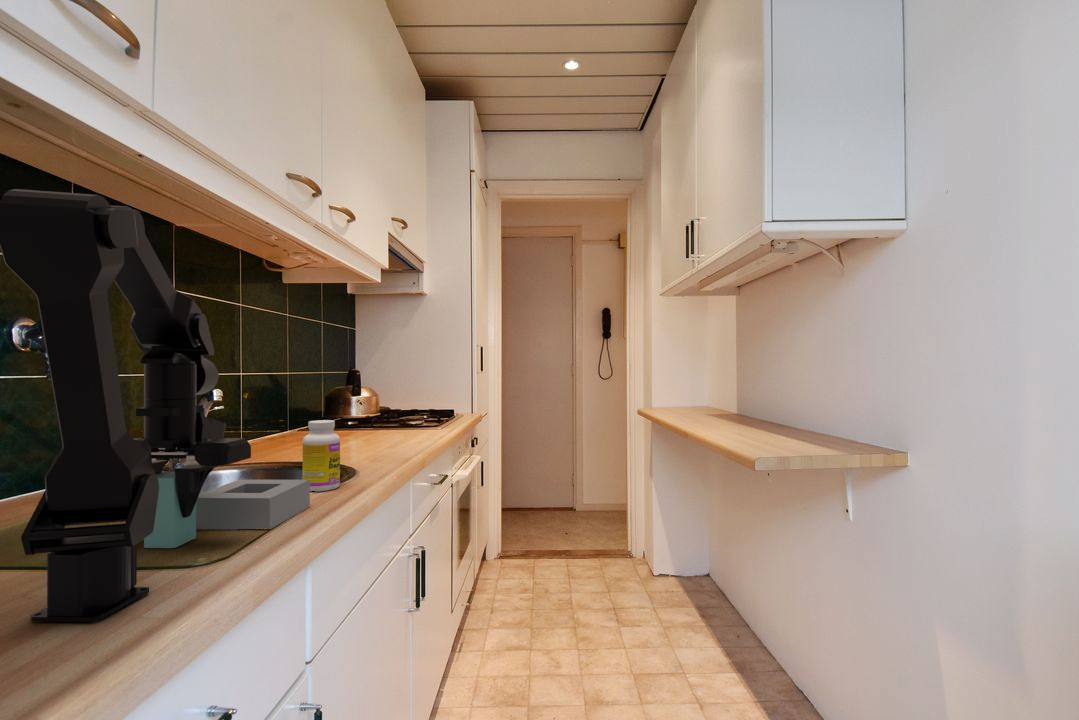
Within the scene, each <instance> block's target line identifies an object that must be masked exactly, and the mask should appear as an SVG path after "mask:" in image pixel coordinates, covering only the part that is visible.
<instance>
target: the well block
mask: <svg viewBox="0 0 1079 720" xmlns="http://www.w3.org/2000/svg"><path fill="white" fill-rule="evenodd" d="M310 493H311V491H310V480H302V479H237V480H234V481H231V482H229V483H225V484H223V485H221V486H218V487H213V488H212V489H209V490H206V491H204V492H200V494H199V496H198V499H197V501H196V530H232V531H233V530H237V529H257V528H258V529H261V528H262V529H264V528H266V529H270V530H272V529H273V528H275V527H277V526H279V525H281V524H282V523H284V522H287V521H289V519H291V518H293V517H295V516H297V515H299V514H300V513H302V512H304V511H305V510H307V509H309V508H310V507H311V503H310V502H311V494H310Z"/></svg>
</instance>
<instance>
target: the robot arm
mask: <svg viewBox="0 0 1079 720" xmlns="http://www.w3.org/2000/svg"><path fill="white" fill-rule="evenodd" d="M145 229H146V228H145V221H144V218H143V216H142V214H141V212H140V211H139V210H138V209H133V208H132V207H129V206H126V205H125V206H123V205H122V206H121V205H110V203H109V202H108V200H107V199H106V198H105V197H104V196H102V195H99V194H90V193H75V192H74V193H73V192H65V191H63V192H61V191H49V190H48V191H46V190H34V189H33V190H32V189H21V188H14V189H9V190H7V191H6V192H5V193H4V194H3V195H2V197H1V199H0V251H1V254H2V258H3V261H4V264H5V265H6V266H7V268H8V269H9V270H11V271H12V273H13V274H14V275H15V276H16V277H17V278H19V280H21V282H22V283H23V284H25V285H26V286H27V288H29V289H30V290H31V291H32V293H34V295H35V297H36V300H37V304H38V305H37V306H38V312H39V317H40V322H41V329H42V334H43V340H44V346H45V353H46V358H47V363H48V368H49V369H48V370H49V374H50V382H51V387H52V393H53V398H54V405H55V408H56V415H57V421H58V428H59V432H60V437H61V438H60V439H61V445H62V446H61V449H60V451H59V453H58V455H57V456H56V458H55V459H54V460H53V462H52V464H51V465H50V467H49V468H48V470H47V472H46V474H45V475H44V486H45V487H44V488H45V490H44V492H43V494H42V496H41V498H40V499H39V502H38V503H37V505H36V507H35V509H34V511H33V513H32V514H31V516H30V519H29V520H28V522H27V525H26V526H25V528H24V530H23V532H22V534H21V537H20V538H21V539H20V540H21V542H22V543H21V544H22V547H23V551H24V554H25V556H34V555H36V554H37V555H38V554H47V556H46V560H47V561H46V563H47V564H46V567H47V568H46V572H47V573H46V578H47V579H46V608H43V609H42V610H39V611H37V612H35V613H33V614H31V615H30V622H42V623H43V622H51V623H53V622H54V623H55V622H56V623H57V622H58V623H62V622H63V623H71V622H72V623H96V622H99V621H101V620H103V619H104V618H107V617H108V616H110V615H112V614H114V613H115V612H117V611H119V610H121V609H123V608H124V607H126V606H128V605H130V604H131V603H134V602H135V601H137V600H139V599H140V598H142V597H145V595H147V594H150V587H146V586H145V587H144V586H143V587H142V586H137V582H138V580H137V579H138V577H137V575H138V573H137V569H138V568H137V564H138V563H137V560H138V559H137V558H138V555H137V553H138V552H137V551H138V550H137V546H136V545H137V544H138V543H140V542H141V541H144V538H146V537H147V536H148V535H150V534H151V533H152V532H153V529H154V522H155V515H156V508H157V501H158V494H159V481H158V478H157V476H156V475H157V474H161V473H163V470H164V468H166V465H167V463H168V459H186V461H185V465H183V466H179V467H175V468H174V471H173V472H175V478H176V485H177V492H178V499H179V506H180V510H181V514H182V517H183V518H186V517H189V516H190V515H191V514H192V511H193V509H194V506H195V504H196V501H197V499H198V496H199V494H200V493H201V490H202V488H203V486H204V484H205V482H206V480H207V478H208V476H209V475H210V474H211V472H213V470H214V469H215V468H216V467H221V466H228V465H232V464H235V463H240V462H243V461H245V460H249V459H251V458H252V446H251V444H250V443H249V441H248V440H247V438H245V437H244V438H243V437H240V438H238V437H235V438H234V437H233V438H231V437H230V438H229V437H225V438H224V435H225V431H226V426H227V423H225V422H222V421H220V420H217V419H215V418H212V417H208V416H206V414H205V413H206V412H205V408H204V404H197V401H198V400H197V396H199V395H203V394H207V393H208V392H210V391H211V390H213V389H214V388H215V387H216V385H217V384H218V382H219V377H220V375H219V371H218V369H217V368H218V367H217V366H216V365H215V364H214V362H212V361H211V360H210V359H207V358H205V356H214V355H215V349H214V345H213V340H212V336H211V332H210V327H209V324H208V320H207V316H206V314H205V313H202V310H201V309H200V307H199V305H198V304H197V303H196V301H195V300H194V299H193V298H192V297H191V296H188V295H186V294H184V293H182V292H180V291H178V290H177V289H176V288H175V286H174V285H173V283H172V281H171V279H170V278H169V276H168V274H167V271H166V270H165V269H164V266H163V264H162V263H161V261H160V259H159V258H158V255H157V253H156V251H155V249H154V248H153V246H152V244H151V242H150V240H149V239H148V237H147V235H146V231H145ZM113 282H114V283H115V285H116V286H117V287H118V289H119V290H120V292H121V293H122V295H123V296H124V297H125V299H126V300H127V302H128V303H129V306H131V309H132V311H133V313H132V316H131V321H130V323H129V327H130V328H129V329H130V331H131V333H132V335H133V337H134V339H135V341H136V343H137V345H138V347H139V349H140V350H141V351H143V353H144V354H143V355H141V358H140V359H139V362H140V364H141V365H143V407H137V408H135V417H143V438H141V437H138V438H135V437H134V438H133V437H132V436H131V435H130V434H129V433H128V432H127V427H126V421H125V420H126V419H125V413H124V412H125V411H124V406H123V399H122V392H121V383H120V378H119V370H118V364H117V362H118V361H117V356H116V350H115V349H116V348H115V342H114V335H113V328H112V320H111V319H112V318H111V314H110V313H111V312H110V305H109V304H110V303H109V298H108V290H109V288H110V287H111V286H112V283H113ZM119 522H124V523H119ZM108 523H116V524H108ZM94 524H95V525H94ZM96 524H103V525H96ZM82 525H83V526H82ZM84 525H88V526H84ZM89 525H90V526H89ZM68 526H70V527H68ZM71 526H77V527H71Z"/></svg>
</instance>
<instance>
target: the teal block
mask: <svg viewBox="0 0 1079 720" xmlns="http://www.w3.org/2000/svg"><path fill="white" fill-rule="evenodd" d="M156 476H157V478H158V481H159V494H158V501H157V508H156V515H155V522H154V529H153V532H152V533H151V534H150V535H148V536H147V537H146V538H144V539H143V541H144V542H143V548H144V549H176V548H178V547H180V546H183V545H184V544H186V543H188V542H190V541H193V540H194V539H196V538H197V529H196V504H195V506H194V509H193V511H192V514H191V515H190V516H189V517H186V518H183V517H182V514H181V510H180V506H179V499H178V492H177V485H176V478H175V471H165V472H162V473H161V474H157V475H156Z"/></svg>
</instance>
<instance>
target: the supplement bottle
mask: <svg viewBox="0 0 1079 720" xmlns="http://www.w3.org/2000/svg"><path fill="white" fill-rule="evenodd" d="M335 422H336V421H335V420H331V419H323V420H322V419H321V420H320V419H317V420H310V421H308V423H307V424H308V425H307V426H308V432H309V433H308V434H306V435H305V436H304V437H303V438H302V477H301V478H302V479H301V480H310V493H311V492H312V491H315V492H327V491H332V490H334V489H337V488H339V486H340V484H341V437H340V436H339V434H338V433H335V432H334V431H335V430H334V429H335V426H336V423H335ZM315 492H314V493H315ZM312 493H313V492H312Z"/></svg>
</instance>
